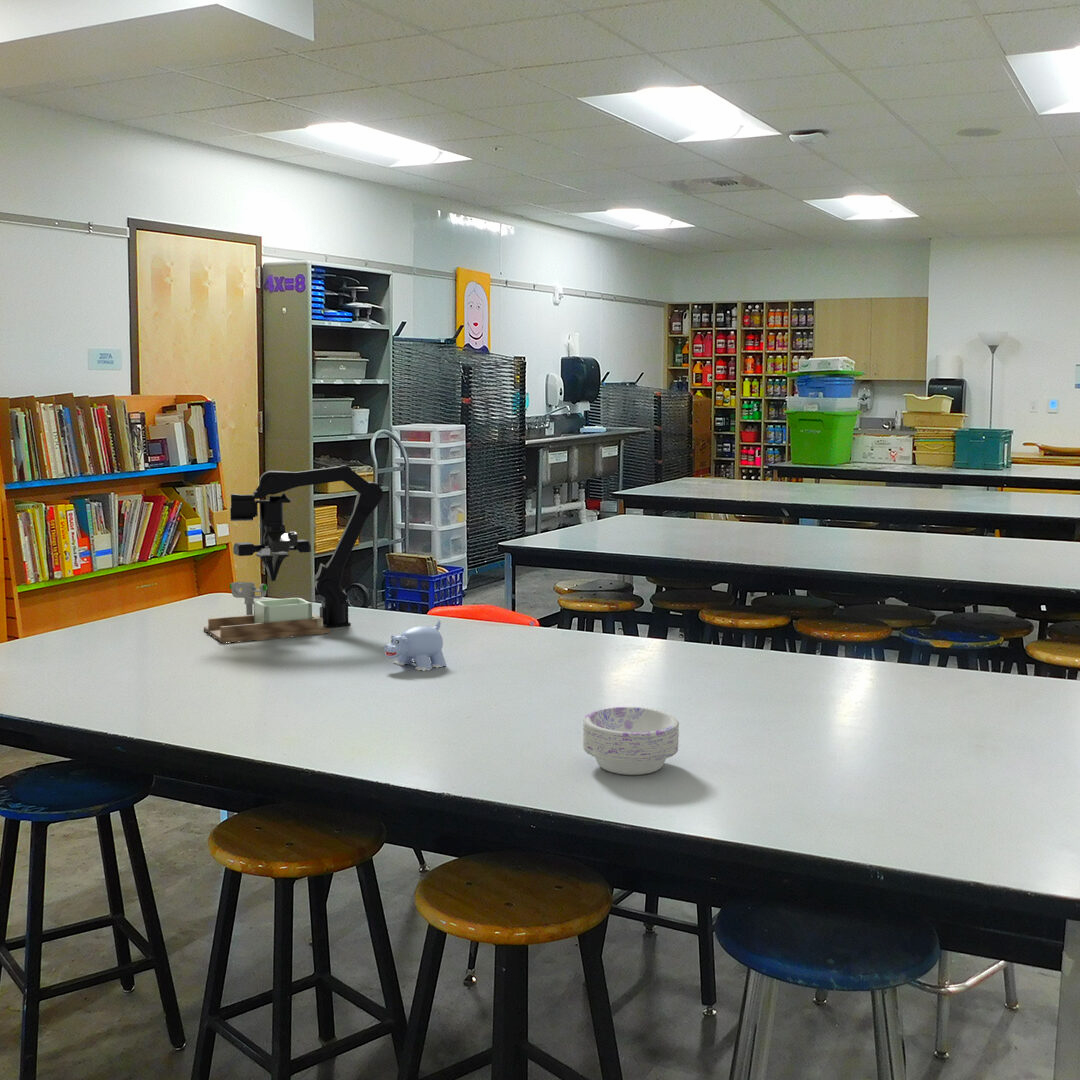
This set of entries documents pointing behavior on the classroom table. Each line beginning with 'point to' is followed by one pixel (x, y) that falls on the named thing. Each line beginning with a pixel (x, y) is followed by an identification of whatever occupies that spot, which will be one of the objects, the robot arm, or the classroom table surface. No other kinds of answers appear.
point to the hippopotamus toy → (418, 647)
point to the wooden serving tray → (261, 628)
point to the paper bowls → (630, 739)
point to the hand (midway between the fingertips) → (273, 581)
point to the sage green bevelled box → (282, 610)
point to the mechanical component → (248, 593)
